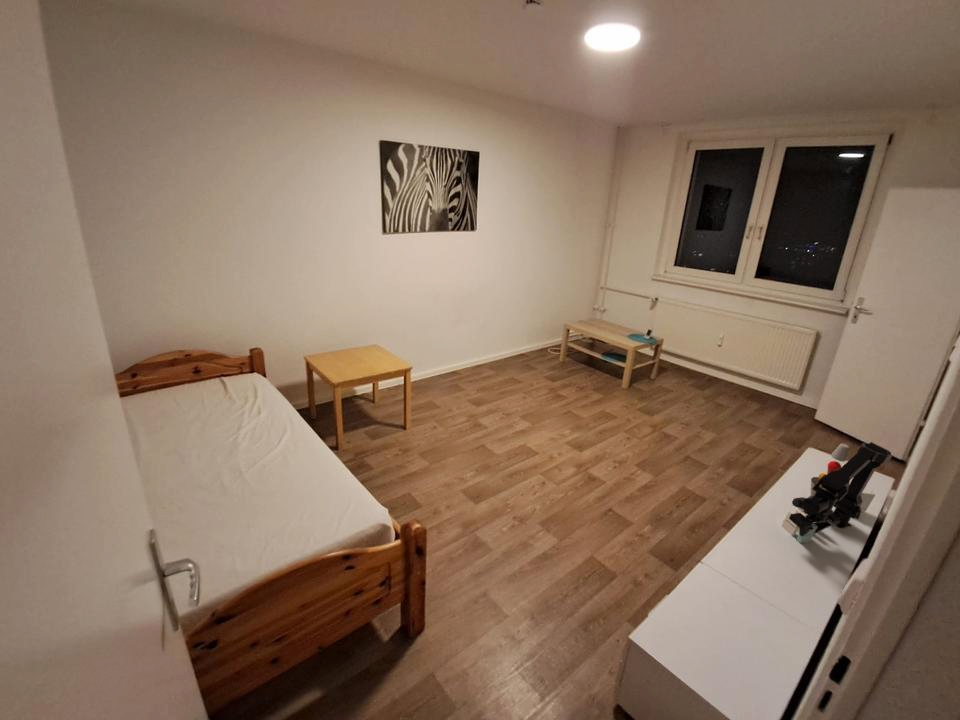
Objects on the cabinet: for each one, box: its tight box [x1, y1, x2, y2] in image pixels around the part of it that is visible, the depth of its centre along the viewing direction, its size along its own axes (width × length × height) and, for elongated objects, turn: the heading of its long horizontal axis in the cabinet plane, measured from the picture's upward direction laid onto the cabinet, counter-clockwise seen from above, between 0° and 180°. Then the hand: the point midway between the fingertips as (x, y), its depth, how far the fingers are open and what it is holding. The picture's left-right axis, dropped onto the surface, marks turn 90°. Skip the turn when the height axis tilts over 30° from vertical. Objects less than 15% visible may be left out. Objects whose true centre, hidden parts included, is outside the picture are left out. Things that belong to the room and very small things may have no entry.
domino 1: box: [781, 510, 799, 537], centre depth 176 cm, size 2×5×8 cm, turn 14°
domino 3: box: [796, 524, 818, 544], centre depth 172 cm, size 2×5×8 cm, turn 104°
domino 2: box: [795, 509, 806, 535], centre depth 177 cm, size 2×5×8 cm, turn 14°
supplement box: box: [849, 481, 876, 518], centre depth 190 cm, size 7×7×13 cm
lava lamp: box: [797, 443, 850, 512], centre depth 182 cm, size 9×9×35 cm
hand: (806, 534), depth 172 cm, fingers closed on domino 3, 5 cm apart
